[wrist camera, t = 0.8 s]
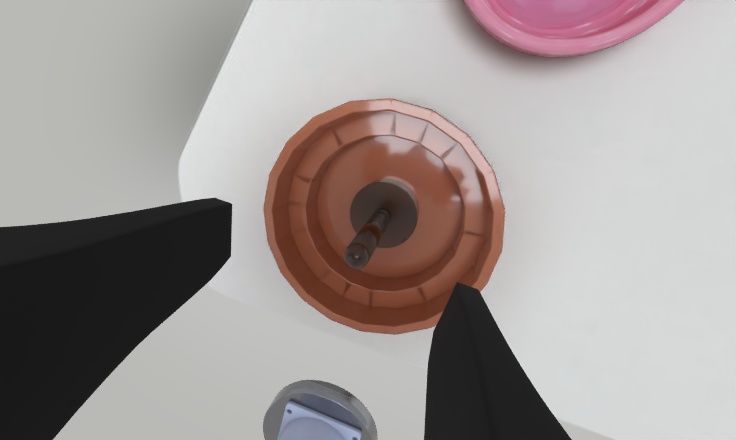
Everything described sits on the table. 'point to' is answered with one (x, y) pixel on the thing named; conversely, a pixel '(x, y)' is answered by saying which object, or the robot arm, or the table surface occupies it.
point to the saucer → (566, 23)
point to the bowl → (335, 232)
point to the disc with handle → (380, 219)
